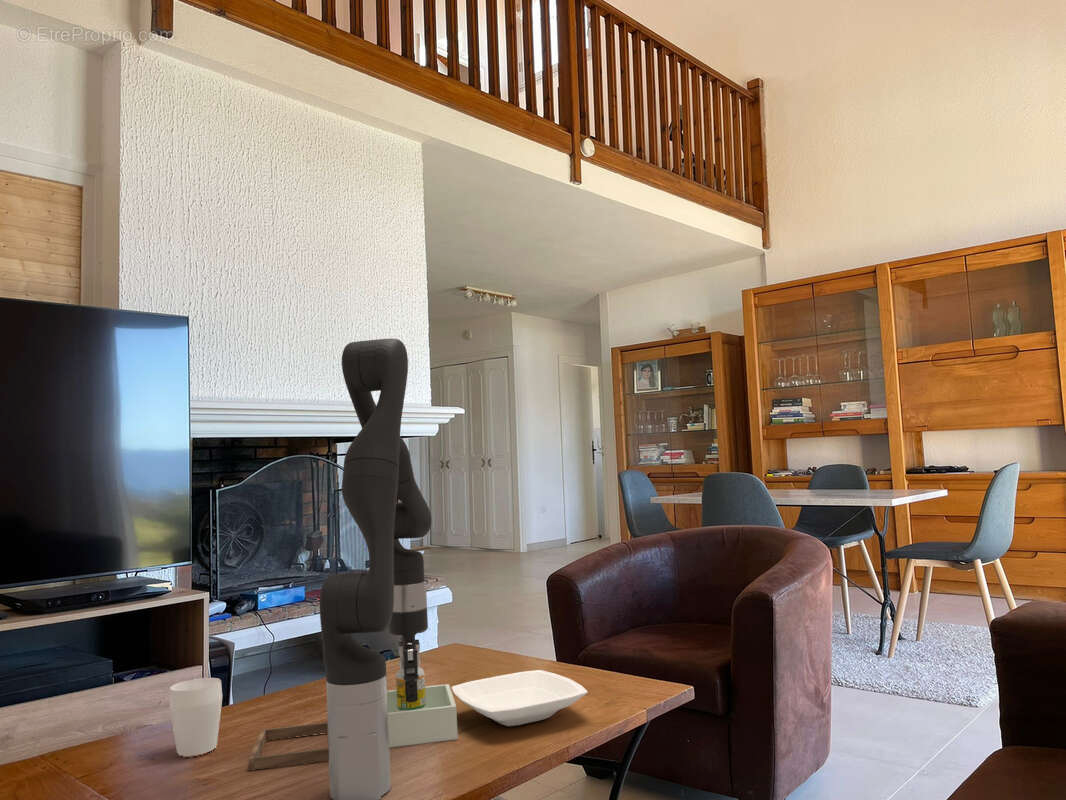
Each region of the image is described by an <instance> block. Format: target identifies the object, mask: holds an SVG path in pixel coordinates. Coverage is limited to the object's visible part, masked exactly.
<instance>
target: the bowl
mask: <svg viewBox="0 0 1066 800" xmlns="http://www.w3.org/2000/svg"><path fill="white" fill-rule="evenodd" d="M451 691H452V694H454V695H455V696H456V697H457V698H458V699H459V700H460V701H461V702H462V703H464V704H465V705H467V706H468V707H470V708H471V709H473V710H474V711H476V712H477V713H479V714H481V715H483V716H485V717H486V718H489V719H492V720H493V721H495V722H496V723H498V724H500V725H503V726H506V727H514V726H522V725H525V724H529V723H534V722H538V721H539V722H540V721H543V720H546V719H548V718H549V719H550V718H551V717H552V716H553V715H554V714H556V713H557V712H558V711H559V710H562V709H565V708H568V707H570V706H571V705H573V704H574V703H576V702H577V701H579V700H580V699H581V698H582V697H584V696H586V695H587V694H588V693H589V692H588V690H587V689H586V688H585V687H584V686H583V685H581V684H579V683H578V682H577V681H574V680H573V679H571V678H569V677H566V676H564V675H563V676H562V675H560V674H558V673H553V672H550V671H546V670H543V669H537V670H536V669H535V670H526V671H518V672H514V673H508V674H507V673H506V674H503V675H502V674H500V675H496V676H492V677H486V678H481V679H476V680H471V681H467V682H463V683H460V684H459V683H458V684H456V685H453V686H451Z"/></svg>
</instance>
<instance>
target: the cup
mask: <svg viewBox="0 0 1066 800" xmlns="http://www.w3.org/2000/svg"><path fill="white" fill-rule="evenodd" d="M222 691H223V689H222V680H221V679H220V678H216V677H201V678H200V677H199V678H193V679H188V680H183V681H180V682H178V683H175V684H173V685H171V686H170V687H169V701H168V706H169V713H170V719H171V725H172V731H173V737H174V738H173V739H174V743H175V748H176V750H175V751H176V754H177V753H178V754H179V755H184V756H191V755H198V754H203V753H206V752H209V751H211V750H213V749H214V748H216V749H217V747H216V746H217V745H218V739H219V730H220V729H219V728H220V721H221V713H222V705H223V704H222V703H223V692H222Z"/></svg>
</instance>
